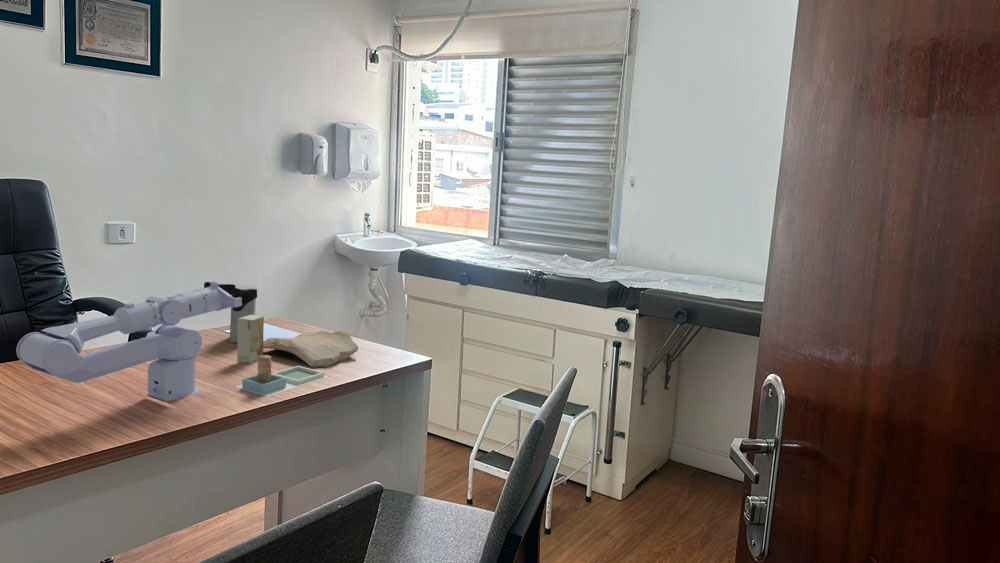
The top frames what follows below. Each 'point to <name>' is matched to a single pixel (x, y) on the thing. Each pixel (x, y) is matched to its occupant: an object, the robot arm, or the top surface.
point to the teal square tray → (253, 384)
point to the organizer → (294, 378)
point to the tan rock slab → (316, 347)
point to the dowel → (264, 369)
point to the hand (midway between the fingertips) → (245, 290)
